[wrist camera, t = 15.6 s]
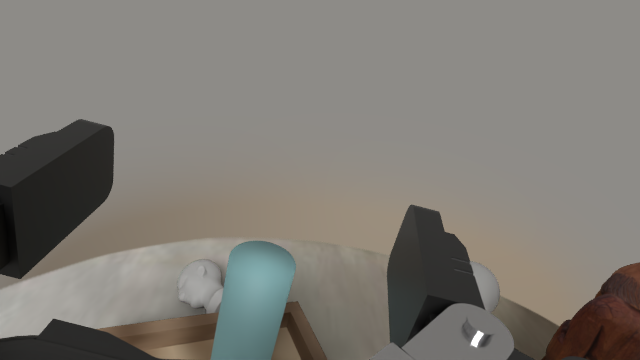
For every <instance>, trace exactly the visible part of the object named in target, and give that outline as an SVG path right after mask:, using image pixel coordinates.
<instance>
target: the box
mask: <svg viewBox="0 0 640 360" xmlns="http://www.w3.org/2000/svg"><path fill="white" fill-rule="evenodd" d="M218 316H219V312H217V313H209V314H202V315H195V316H188V317H180V318H173V319H166V320H158V321H151V322H144V323H137V324H129V325H122V326H115V327H108V328H100V329H97V330H101V331H105V332H108V333H110V334H112V335H114V336H116V337H118V338H120V339H121V340H123V341H125V342H127V343H129V344H131V345H133V346H135V347H136V348H138V349H140V350H142V351H144V352H146V353H148V354H150V355H151V356H154V357H156V358H160V359H181V360H210V359H211V354H212V348H213V343H214V337H215V332H216V326H217V321H218ZM271 360H327V358H326V356H325V354H324V352H323V350H322V348H321V346H320V344H319V342H318V340H317V338H316V336H315V334H314V332H313V331H312V329H311V327H310V325H309V323H308V321H307V319H306V317H305V315H304V313H303V311H302V309H301V307H300V305H299V303H298V301H296V302H289V303H286V306H285V310H284V314H283V317H282V321H281V325H280V328H279V332H278V336H277V339H276V343H275V347H274V350H273V354H272V358H271Z"/></svg>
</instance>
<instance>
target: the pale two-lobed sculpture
mask: <svg viewBox="0 0 640 360" xmlns="http://www.w3.org/2000/svg"><path fill="white" fill-rule="evenodd" d="M177 287H178V290H179V296H178V297H179V300H180V301H182V302H186V303H188V304H190V305H191V306H192V307H193V308H200V307H205V309H206V314H209V313H217V312H219V310H220V305H221V299H222V294H223V288H224V287H223V286H222V284H221V271H220V269H219V267H218V266H217V265H216V264H215V263H214V262H212V261H210V260H206V259H200V260H196V261H194V262H192V263H190V264H189V265H187V266H186V267H185V268H184V269H183V270H182V271H181V273H180V275H179V277H178V281H177Z"/></svg>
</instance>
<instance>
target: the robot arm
mask: <svg viewBox="0 0 640 360" xmlns="http://www.w3.org/2000/svg"><path fill="white" fill-rule="evenodd" d="M113 164H114V133H113V130H112V128H111V127H109V126H106V125H102V124H98V123H94V122H90V121H86V120H82V119H80V120H77V121H75V122H73V123H71V124H70V125H68V126H66V127H65V128H63V129H61V130H59V131H57V132H52V133H48V134H43V135H40V136H35V137H33V138H31V139H29V140H27V141H25V142H23V143H22V144H20V145H18V147H14V148H12V149H10V150H9V151H7V152H5V155H3V154H1V155H0V274H2V275H6V276H10V277H14V278H18V279H21V278H22V277H23V276H24V275H25V274H27V273H28V272H29V271H30V270H31V269H32V268H33V267H34V266H35V265H36V264H37V263H38V262H39V261H40V260H42V259H43V258H44V257H45V256H46V255H47V254H48V253H49V252H50V251H51V250H52V249H54V248H55V247H56V246H57V245H58V244H59V243H60V242H61V241H62V240H63V239H64V238H65V237H66V236H68V235H69V234H70V233H71V232H72V231H73V230H74V229H75V228H76V227H77V226H78V225H80V224H81V223H82V222H83V221H84V220H85V219H86V218H87V217H88V216H89V215H90V214H91V213H93V212H94V211H95V210H96V209H97V208H98V207H99V206H100V205H101V204H102V203H103V202H104V201H105V200H106V199H107V197H108V195H109V193H110V191H111V188H112V184H113ZM473 273H474V272H473V269H472V266H471V264H470V260H469V257H468V253H467V250H466V248H465V247H464V245H463V244H462V243H461V242H460V241H459V239H458V238H457V237H456V236H455V235H454V234H450V233H446V232H445V231H444V228H443V224H442V220H441V216H440V213H439V212H438V211H434V210H431V209H427V208H423V207H419V206H415V205H410V206H409V208H408V210H407V212H406V214H405V217H404V220H403V223H402V225H401V228H400V231H399V233H398V236H397V238H396V241H395V243H394V246H393V249H392V252H391V255H390V258H389V263H388V269H387V283H388V305H389V327H390V344H388V345H387V346H385V347H384V348H383V349H382V350H380V351H379V352H378V353H377V354H376V355H374V356H373V357H372V358H371V359H369V360H535V359H533V358H531V357H529V356H527V355H525V354H523V353H521V352H519V351H518V350H516V349H515V348H514V341H513V337H512V335H511V333H510V331H509V330H508V329H507V327H506V326H505V325H504V324H503V323H502V322H501V321H500V320H499V319H498V318H497V317H495V316H494V315H493V314H491V313H490V312H488V311H486V310H485V307H484V304H483V301H482V298H481V294H480V291H479V288H478V285H477V282H476V279H475V276H474V275H473ZM0 360H181V359H160V358H156V357H154V356H151V355H150V354H148V353H146V352H144V351H142V350H140V349H138V348H136V347H135V346H133V345H131V344H129V343H127V342H125V341H123V340H121V339H120V338H118V337H116V336H114V335H112V334H110V333H108V332H105V331H101V330H97V329H93V328H89V327H85V326H81V325H77V324H73V323H69V322H65V321H61V320H57V319H53V320H52V321H51V322H50V323H49V324H48V326H47V327H46V328H45V329H44V330H43V331H42V332H41V334H40V335H30V336H15V337H9V338H2V339H0ZM562 360H588V359H585V358H581V357H576V356H569V357H565V358H563V359H562Z"/></svg>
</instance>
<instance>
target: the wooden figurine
mask: <svg viewBox="0 0 640 360" xmlns="http://www.w3.org/2000/svg"><path fill="white" fill-rule="evenodd" d="M569 356H576V357H581V358H585V359H588V360H640V263H635V264H630V265H627V266H624V267H622V268H620V269H618V270H617V271H615V272H614V273H613V274H612V276H611V277H610V278H609V279H608V280H607V281H606V282H605V283H604V284H603V285H602V287H601V290H600V291H599V292H598V293H597V294H596V296H595V298H594V299H593V300H591V301H589V302H588V303H587V304H585V305H584V306H583V307H582V308H581V309H580V310H579V311H578V312H577V313H576V314H575V316H574V317H573V318H572V320H566V321H565V322H564V323H563V324H562V325H561V326H560V327H559V328H558V330H557V332H556V333H555V334H554V336H553V338H552V339H551V341H550V343H549V345H548V347H547V350H546V355H545V356H544V358H543V359H542V360H562V359H563V358H565V357H569Z"/></svg>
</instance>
